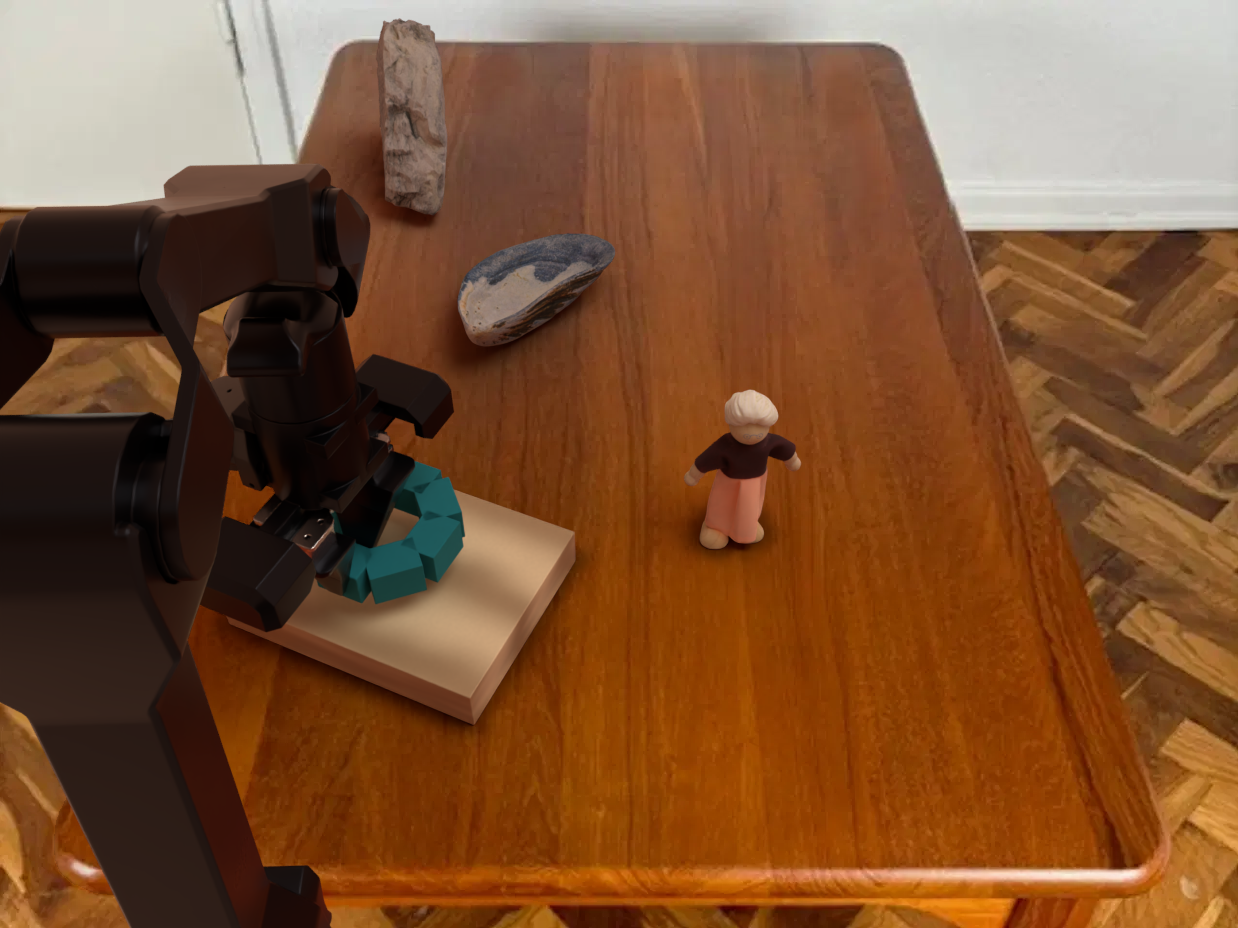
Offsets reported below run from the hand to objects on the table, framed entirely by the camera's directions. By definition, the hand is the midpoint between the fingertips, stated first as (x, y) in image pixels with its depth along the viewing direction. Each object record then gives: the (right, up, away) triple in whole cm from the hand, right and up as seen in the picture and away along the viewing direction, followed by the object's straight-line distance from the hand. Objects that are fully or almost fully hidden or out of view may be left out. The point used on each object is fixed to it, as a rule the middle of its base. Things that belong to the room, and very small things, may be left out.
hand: (349, 575), depth 73 cm
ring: (+2, +2, +3) cm, 4 cm away
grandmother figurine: (+25, +2, +10) cm, 27 cm away
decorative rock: (-2, +33, +40) cm, 52 cm away
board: (+2, -2, +6) cm, 7 cm away
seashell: (+10, +19, +26) cm, 33 cm away
